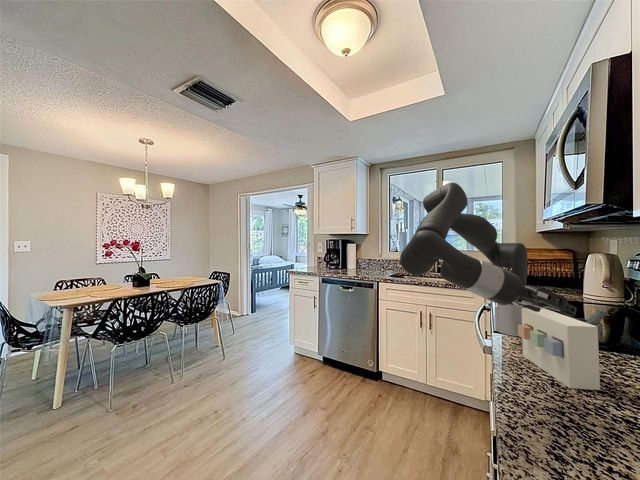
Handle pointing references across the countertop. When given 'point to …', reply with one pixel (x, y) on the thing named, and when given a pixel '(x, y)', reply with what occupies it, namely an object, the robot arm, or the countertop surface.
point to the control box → (565, 348)
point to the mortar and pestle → (596, 319)
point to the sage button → (537, 338)
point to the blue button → (553, 347)
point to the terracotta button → (524, 331)
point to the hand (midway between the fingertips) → (555, 310)
